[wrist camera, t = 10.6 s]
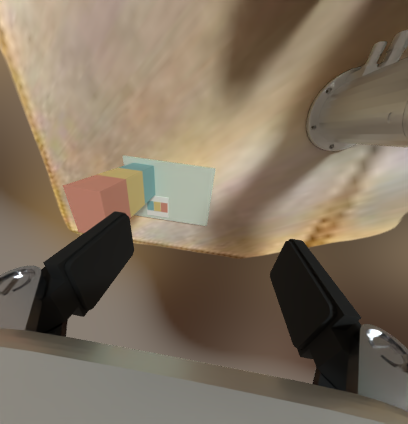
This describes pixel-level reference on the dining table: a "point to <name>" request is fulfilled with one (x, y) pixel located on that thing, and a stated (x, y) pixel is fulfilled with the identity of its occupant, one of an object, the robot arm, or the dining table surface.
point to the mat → (180, 190)
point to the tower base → (146, 178)
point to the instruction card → (158, 206)
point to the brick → (96, 199)
